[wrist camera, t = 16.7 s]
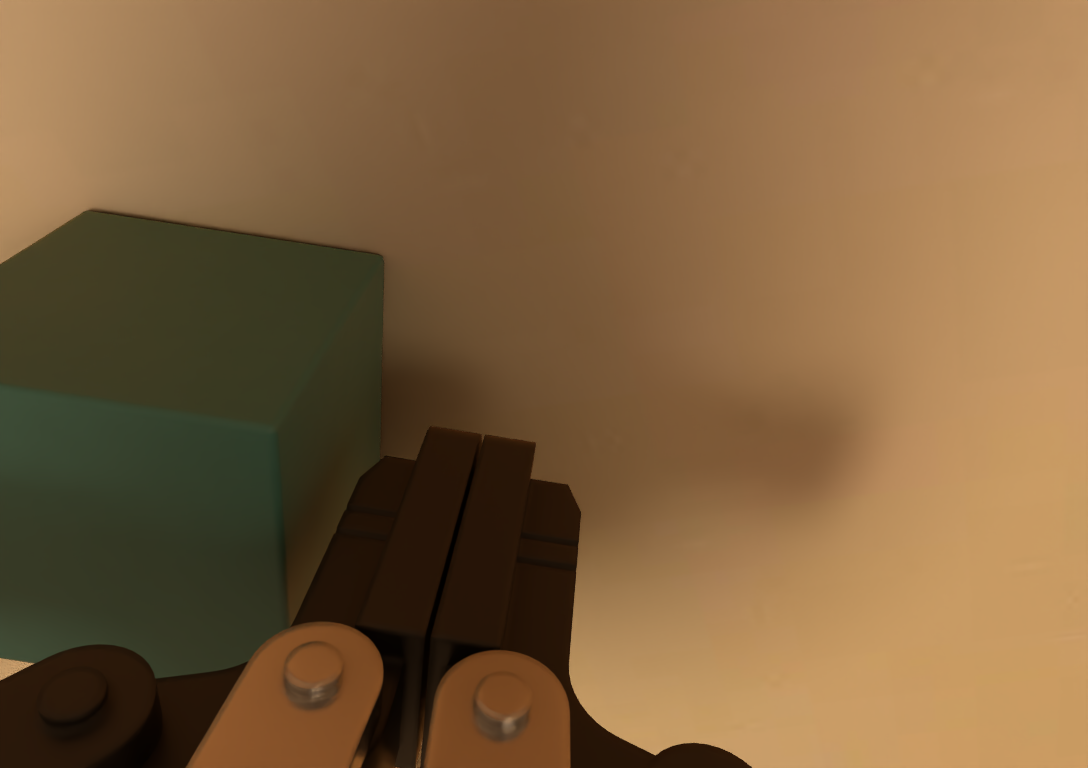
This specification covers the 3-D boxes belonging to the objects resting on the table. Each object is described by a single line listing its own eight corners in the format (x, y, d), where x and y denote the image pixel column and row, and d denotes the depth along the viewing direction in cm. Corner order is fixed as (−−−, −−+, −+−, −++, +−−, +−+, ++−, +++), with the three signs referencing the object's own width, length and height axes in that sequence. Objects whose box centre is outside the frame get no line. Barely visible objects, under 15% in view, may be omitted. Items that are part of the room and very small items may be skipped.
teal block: (84, 207, 12) (-166, 361, 8) (386, 253, 12) (274, 429, 8) (130, 448, 15) (-46, 654, 11) (380, 487, 15) (293, 706, 11)
